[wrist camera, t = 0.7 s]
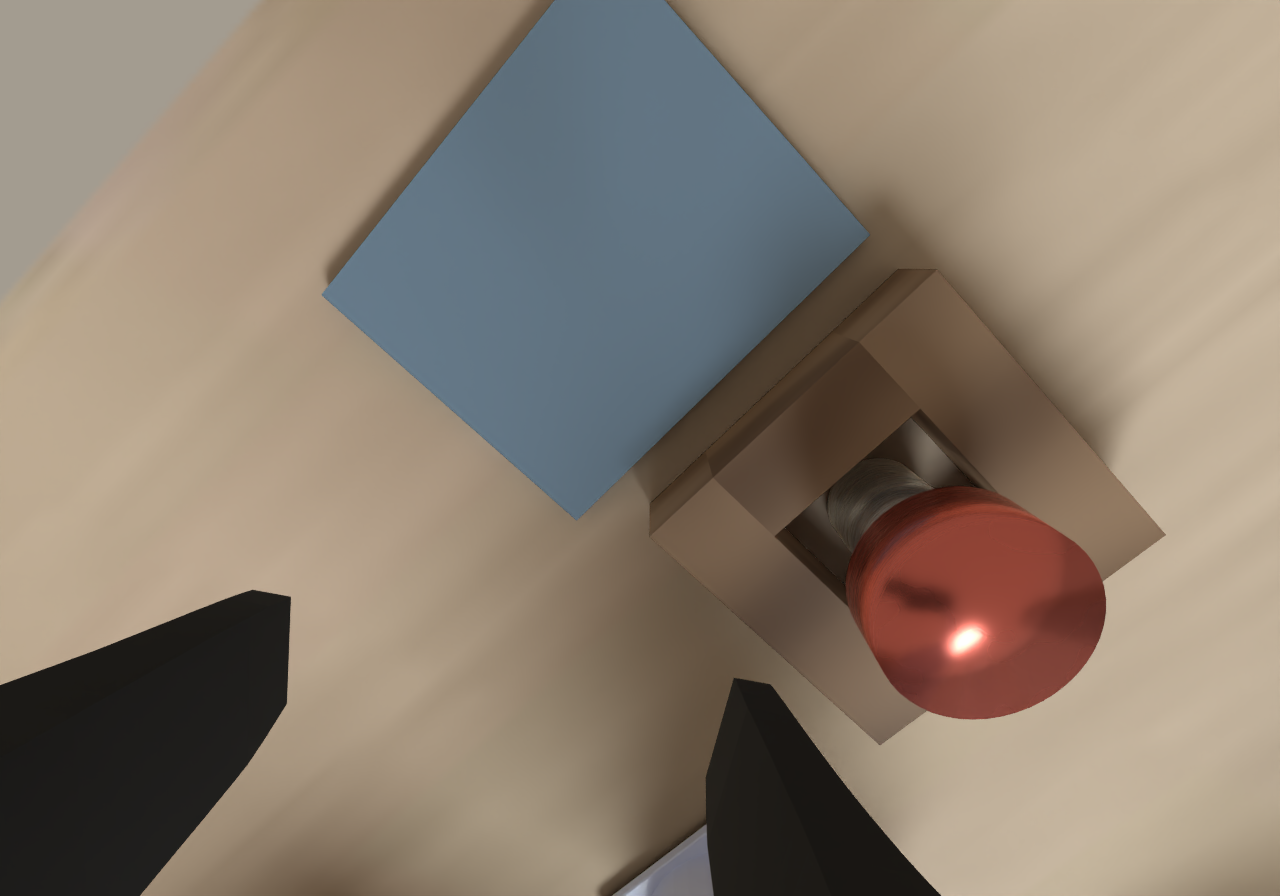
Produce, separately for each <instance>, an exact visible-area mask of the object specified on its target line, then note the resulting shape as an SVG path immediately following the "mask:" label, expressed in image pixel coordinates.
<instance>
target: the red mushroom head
mask: <svg viewBox="0 0 1280 896" xmlns="http://www.w3.org/2000/svg"><path fill="white" fill-rule="evenodd" d="M827 511H828V516H829V519H830V522H831V524H832V526H833V527H834V529H835V530H836V532H837V533H838V534H839V536H840V537H841V539H842V540H843V542H844V543H845V545H846V546H847V547H848V549H849V550H850V552H851V553H852V556H851V559H850V562H849V565H848V570H847V576H846V597H847V603H848V606H849V610H850V613H851V615H852V617H853V619H854V621H855V623H856V625H857V627H858V629H859V630H860V632H861V634H862V636H863V637H864V639H865V641H866V643H867V644H868V646H869V648H870V650H871V651H872V653H873V655H874V657H875V659H876V660H877V662H878V664H879V666H880V667H881V669H882V671H883V673H884V674H885V676H886V677H887V679H888V680H889V682H890V683H891V684H892V685H893V687H894V688H895V689H896V690H897V691H898V692H899V693H900V694H901V695H903V696H904V697H905V698H906V699H908V700H909V701H910V702H912V703H914V704H915V705H917V706H919V707H921V708H923V709H925V710H927V711H930V712H932V713H935V714H939V715H942V716H946V717H952V718H958V719H988V718H995V717H1001V716H1005V715H1009V714H1013V713H1016V712H1019V711H1021V710H1024V709H1027V708H1030V707H1032V706H1034V705H1036V704H1038V703H1040V702H1042V701H1044V700H1045V699H1047V698H1048V697H1050V696H1051V695H1053V694H1055V693H1056V692H1057V691H1059V690H1060V689H1061V688H1062V687H1064V686H1065V685H1066V684H1067V683H1068V682H1069V681H1071V680H1072V679H1073V678H1074V677H1075V676H1076V675H1077V674H1078V672H1079V671H1080V670H1081V669H1082V667H1083V666H1084V665H1085V664H1086V663H1087V661H1088V659H1089V658H1090V656H1091V655H1092V653H1093V651H1094V650H1095V647H1096V645H1097V643H1098V641H1099V639H1100V636H1101V633H1102V629H1103V626H1104V621H1105V614H1106V597H1105V591H1104V585H1103V582H1102V579H1101V576H1100V574H1099V572H1098V570H1097V568H1096V566H1095V564H1094V562H1093V561H1092V560H1091V559H1090V557H1089V556H1088V555H1087V553H1086V552H1085V551H1084V550H1083V549H1082V548H1081V547H1080V546H1079V545H1077V544H1076V543H1075V542H1074V541H1072V540H1071V539H1069V538H1068V537H1066V536H1065V535H1063V534H1062V533H1060V532H1059V531H1057V530H1056V529H1054V528H1053V527H1051V526H1050V525H1048V524H1047V523H1045V522H1044V521H1042V520H1041V519H1039V518H1038V517H1036V516H1034V515H1033V514H1031V513H1030V512H1028V511H1027V510H1025V509H1024V508H1022V507H1021V506H1019V505H1018V504H1016V503H1015V502H1013V501H1012V500H1010V499H1008V498H1006V497H1004V496H1002V495H1000V494H998V493H995V492H992V491H989V490H986V489H981V488H976V487H966V486H952V487H942V488H937V489H934V488H932V487H931V486H930V485H929V484H927V483H926V482H925V481H924V480H922V479H921V478H920V477H919V476H917V475H916V474H915V473H914V472H912V471H911V470H910V469H908V468H907V467H906V466H904V465H903V464H901V463H899V462H897V461H894V460H890V459H885V458H873V459H868V460H864V461H861V462H859V463H858V464H856V465H855V466H854V467H853V468H852V469H851V470H850V471H848V472H847V473H846V474H845V475H844V476H843V477H842V478H840V479H839V480H838V481H837V482H836V483H835V484H834V485H832V487H831V490H830V492H829V496H828V501H827Z"/></svg>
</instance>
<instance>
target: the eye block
mask: <svg viewBox="0 0 1280 896" xmlns="http://www.w3.org/2000/svg"><path fill="white" fill-rule="evenodd" d="M910 417H912V419H913V420H914V421H915V422H916V423H917V424H918V425H919V426H920V427H921V428H922V429H923V430H924V431H925V433H926V434H927V435H928V436H929V437H930V438H931V439H932V440H933V441H934V442H935V443H936V444H937V445H938V447H939V448H940V449H941V450H942V451H943V452H944V453H945V454H946V455H947V456H948V457H949V458H950V459H951V461H952V462H953V463H954V464H955V465H956V466H957V467H958V468H959V469H960V470H961V471H962V472H963V473H964V474H965V476H966V477H967V478H968V479H969V480H970V481H971V482H972V483H973V484H974V485H975V486H976V487H977V488H981V489H986V490H989V491H992V492H995V493H998V494H1000V495H1002V496H1004V497H1006V498H1008V499H1010V500H1012V501H1013V502H1015V503H1016V504H1018V505H1019V506H1021V507H1022V508H1024V509H1025V510H1027V511H1028V512H1030V513H1031V514H1033V515H1034V516H1036V517H1038V518H1039V519H1041V520H1042V521H1044V522H1045V523H1047V524H1048V525H1050V526H1051V527H1053V528H1054V529H1056V530H1057V531H1059V532H1060V533H1062V534H1063V535H1065V536H1066V537H1068V538H1069V539H1071V540H1072V541H1074V542H1075V543H1076V544H1077V545H1079V546H1080V547H1081V548H1082V549H1083V550H1084V551H1085V552H1086V553H1087V555H1088V556H1089V557H1090V559H1091V560H1092V561H1093V562H1094V564H1095V566H1096V568H1097V570H1098V572H1099V574H1100V576H1101V579H1102V581H1104V580H1105V579H1107V578H1108V577H1109V576H1111V575H1112V574H1113V573H1115V572H1116V571H1117V570H1119V569H1120V568H1121V567H1123V566H1124V565H1126V564H1127V563H1128V562H1130V561H1131V560H1132V559H1134V558H1135V557H1136V556H1138V555H1139V554H1140V553H1142V552H1143V551H1145V550H1146V549H1147V548H1149V547H1150V546H1151V545H1153V544H1154V543H1155V542H1157V541H1158V540H1160V539H1161V538H1162V537H1164V536H1165V535H1166V534H1165V533H1164V532H1163V531H1162V530H1161V529H1160V528H1159V526H1158V525H1157V524H1156V523H1155V522H1154V521H1153V519H1152V518H1151V517H1150V516H1149V515H1148V514H1147V512H1146V511H1145V510H1144V509H1143V508H1142V507H1141V505H1140V504H1139V503H1138V502H1137V501H1136V500H1135V498H1134V497H1133V496H1132V495H1131V494H1130V493H1129V492H1128V490H1127V489H1126V488H1125V487H1124V486H1123V485H1122V483H1121V482H1120V481H1119V480H1118V479H1117V478H1116V476H1115V475H1114V474H1113V473H1112V472H1111V471H1110V469H1109V468H1108V467H1107V466H1106V465H1105V464H1104V462H1103V461H1102V460H1101V459H1100V458H1099V457H1098V456H1097V454H1096V453H1095V452H1094V451H1093V450H1092V449H1091V447H1090V446H1089V445H1088V444H1087V443H1086V442H1085V440H1084V439H1083V438H1082V437H1081V436H1080V435H1079V433H1078V432H1077V431H1076V430H1075V429H1074V428H1073V427H1072V425H1071V424H1070V423H1069V422H1068V421H1067V420H1066V418H1065V417H1064V416H1063V415H1062V414H1061V413H1060V411H1059V410H1058V409H1057V408H1056V407H1055V406H1054V404H1053V403H1052V402H1051V401H1050V400H1049V399H1048V397H1047V396H1046V395H1045V394H1044V393H1043V392H1042V391H1041V389H1040V388H1039V387H1038V386H1037V385H1036V384H1035V382H1034V381H1033V380H1032V379H1031V378H1030V377H1029V375H1028V374H1027V373H1026V372H1025V371H1024V370H1023V368H1022V367H1021V366H1020V365H1019V364H1018V363H1017V361H1016V360H1015V359H1014V358H1013V357H1012V356H1011V355H1010V353H1009V352H1008V351H1007V350H1006V349H1005V348H1004V346H1003V345H1002V344H1001V343H1000V342H999V341H998V339H997V338H996V337H995V336H994V335H993V334H992V332H991V331H990V330H989V329H988V328H987V327H986V326H985V324H984V323H983V322H982V321H981V320H980V319H979V317H978V316H977V315H976V314H975V313H974V312H973V310H972V309H971V308H970V307H969V306H968V305H967V303H966V302H965V301H964V300H963V299H962V298H961V296H960V295H959V294H958V293H957V292H956V291H955V290H954V288H953V287H952V286H951V285H950V284H949V283H948V281H947V280H946V279H945V278H944V277H943V276H942V274H941V273H940V272H939V271H938V270H937V269H898V270H897V271H896V272H895V273H894V274H893V275H892V276H891V277H889V278H888V279H887V280H886V281H885V282H884V283H883V284H882V285H881V286H880V287H879V288H878V289H877V290H876V291H875V292H874V293H873V294H871V295H870V296H869V297H868V298H867V299H866V300H865V301H864V302H863V303H862V304H861V305H860V306H859V307H858V308H857V309H856V310H855V311H853V312H852V313H851V314H850V315H849V316H848V317H847V318H846V319H845V320H844V321H843V322H842V323H841V324H840V325H839V326H838V327H837V328H835V329H834V330H833V331H832V332H831V333H830V334H829V335H828V336H827V337H826V338H825V339H824V340H823V341H822V342H821V343H820V344H819V345H818V346H816V347H815V348H814V349H813V350H812V351H811V352H810V353H809V354H808V355H807V356H806V357H805V358H804V359H803V360H802V361H801V362H800V363H798V364H797V365H796V366H795V367H794V368H793V369H792V370H791V371H790V372H789V373H788V374H787V375H786V376H785V377H784V378H783V379H782V380H780V381H779V382H778V383H777V384H776V385H775V386H774V387H773V388H772V389H771V390H770V391H769V392H768V393H767V394H766V395H765V396H764V397H762V398H761V399H760V400H759V401H758V402H757V403H756V404H755V405H754V406H753V407H752V408H751V409H750V410H749V411H748V412H747V413H746V414H745V415H743V416H742V417H741V418H740V419H739V420H738V421H737V422H736V423H735V424H734V425H733V426H732V427H731V428H730V429H729V430H728V431H727V432H725V433H724V434H723V435H722V436H721V437H720V438H719V439H718V440H717V441H716V442H715V443H714V444H713V445H712V446H711V447H710V448H709V449H707V450H706V451H705V452H704V453H703V454H702V455H701V456H700V457H699V458H698V459H697V460H696V461H695V462H694V463H693V464H692V465H691V466H689V467H688V468H687V469H686V470H685V471H684V472H683V473H682V474H681V475H680V476H679V477H678V478H677V479H676V480H675V481H674V482H673V483H672V484H670V485H669V486H668V487H667V488H666V489H665V490H664V491H663V492H662V493H661V494H660V495H659V496H658V497H657V498H656V499H655V500H654V501H652V502H651V503H650V532H649V537H650V538H651V539H652V540H654V541H655V542H656V543H657V544H658V545H659V546H660V547H661V548H662V549H663V550H665V551H666V552H667V553H668V554H669V555H670V556H671V557H672V558H673V559H675V560H676V561H677V562H678V563H679V564H680V565H681V566H682V567H683V568H684V569H686V570H687V571H688V572H689V573H690V574H691V575H692V576H693V577H694V578H696V579H697V580H698V581H699V582H700V583H701V584H702V585H703V586H704V587H705V588H707V589H708V590H709V591H710V592H711V593H712V594H713V595H714V596H715V597H717V598H718V599H719V600H720V601H721V602H722V603H723V604H724V605H725V606H726V607H728V608H729V609H730V610H731V611H732V612H733V613H734V614H735V615H736V616H738V617H739V618H740V619H741V620H742V621H743V622H744V623H745V624H746V625H747V626H749V627H750V628H751V629H752V630H753V631H754V632H755V633H756V634H757V635H759V636H760V637H761V638H762V639H763V640H764V641H765V642H766V643H767V644H768V645H770V646H771V647H772V648H773V649H774V650H775V651H776V652H777V653H778V654H780V655H781V656H782V657H783V658H784V659H785V660H786V661H787V662H788V663H789V664H791V665H792V666H793V667H794V668H795V669H796V670H797V671H798V672H799V673H801V674H802V675H803V676H804V677H805V678H806V679H807V680H808V681H809V682H811V683H812V684H813V685H814V686H815V687H816V688H817V689H818V690H819V691H820V692H822V693H823V694H824V695H825V696H826V697H827V698H828V699H829V700H830V701H832V702H833V703H834V704H835V705H836V706H837V707H838V708H839V709H840V710H841V711H843V712H844V713H845V714H846V715H847V716H848V717H849V718H850V719H851V720H853V721H854V722H855V723H856V724H857V725H858V726H859V727H860V728H861V729H862V730H864V731H865V732H866V733H867V734H868V735H869V736H870V737H871V738H872V739H874V740H875V741H876V742H877V743H878V744H879V745H881V744H882V743H884V742H885V741H886V740H888V739H889V738H890V737H892V736H893V735H895V734H896V733H897V732H899V731H900V730H901V729H903V728H904V727H905V726H907V725H908V724H909V723H911V722H912V721H914V720H915V719H916V718H918V717H919V716H920V715H922V714H923V713H924V712H926V711H927V710H925V709H923V708H921V707H919V706H917V705H915V704H914V703H912V702H910V701H909V700H908V699H906V698H905V697H904V696H903V695H901V694H900V693H899V692H898V691H897V690H896V689H895V688H894V687H893V685H892V684H891V683H890V682H889V680H888V679H887V677H886V676H885V674H884V673H883V671H882V669H881V667H880V666H879V664H878V662H877V660H876V659H875V657H874V655H873V653H872V651H871V650H870V648H869V646H868V644H867V643H866V641H865V639H864V637H863V636H862V634H861V632H860V630H859V629H858V627H857V625H856V623H855V621H854V619H853V617H852V615H851V613H850V610H849V606H848V603H847V597H846V586H845V585H844V584H843V583H841V582H840V581H839V580H838V579H837V578H836V577H835V576H834V575H833V574H832V573H831V572H830V571H829V570H828V569H827V568H826V567H825V566H824V565H823V564H822V563H821V562H820V561H819V560H818V559H817V558H816V557H814V556H813V555H812V554H811V553H810V552H809V551H808V550H807V549H806V548H805V547H804V546H803V545H802V544H801V543H800V542H799V541H798V540H797V539H796V538H795V537H794V536H793V535H792V534H791V533H790V532H789V531H788V530H786V529H785V528H784V527H785V526H787V525H788V524H789V523H790V522H791V521H792V520H793V519H795V518H796V517H797V516H798V515H799V514H800V513H801V512H803V511H804V510H805V509H806V508H807V507H808V506H809V505H811V504H812V503H813V502H814V501H815V500H816V499H817V498H819V497H820V496H821V495H822V494H823V493H824V492H826V491H827V490H828V489H829V488H830V487H831V486H832V485H834V484H835V483H836V482H837V481H838V480H839V479H840V478H842V477H843V476H844V475H845V474H846V473H847V472H848V471H850V470H851V469H852V468H853V467H854V466H855V465H856V464H858V463H859V462H860V461H861V460H862V459H863V458H864V457H866V456H867V455H868V454H869V453H870V452H871V451H872V450H874V449H875V448H876V447H877V446H878V445H879V444H880V443H882V442H883V441H884V440H885V439H886V438H887V437H888V436H890V435H891V434H892V433H893V432H894V431H895V430H896V429H898V428H899V427H900V426H901V425H902V424H903V423H905V422H906V421H907V420H908V419H909V418H910Z"/></svg>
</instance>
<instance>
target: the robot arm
mask: <svg viewBox="0 0 1280 896" xmlns="http://www.w3.org/2000/svg"><path fill="white" fill-rule="evenodd" d="M290 606H291V597H289V596H283V595H278V594H272V593H267V592H261V591H256V590H251V591H248V592H244V593H241V594H238V595H235V596H233V597H230V598H227V599H224V600H222V601H219V602H216V603H214V604H211V605H209V606H206V607H204V608H201V609H199V610H196V611H194V612H191V613H188V614H186V615H183V616H181V617H179V618H176V619H174V620H171V621H169V622H166V623H164V624H161V625H159V626H156V627H153V628H151V629H148V630H146V631H143V632H141V633H138V634H136V635H133V636H131V637H128V638H126V639H123V640H121V641H118V642H116V643H113V644H111V645H108V646H106V647H103V648H100V649H98V650H95V651H93V652H90V653H87V654H85V655H82V656H79V657H76V658H74V659H71V660H68V661H65V662H63V663H60V664H57V665H54V666H52V667H49V668H46V669H43V670H41V671H38V672H35V673H32V674H30V675H27V676H24V677H21V678H19V679H16V680H13V681H11V682H8V683H5V684H2V685H0V896H140V895H141V894H142V892H143V891H144V890H145V889H146V888H147V886H148V885H149V884H150V883H151V882H152V880H153V879H154V878H155V877H156V875H157V874H158V873H159V872H160V871H161V869H162V868H163V867H164V866H165V865H166V863H167V862H168V861H169V860H170V859H171V857H172V856H173V855H174V854H175V853H176V851H177V850H178V849H179V848H180V847H181V845H182V844H183V843H184V842H185V841H186V839H187V838H188V837H189V836H190V835H191V833H192V832H193V831H194V830H195V828H196V827H197V826H198V825H199V824H200V822H201V821H202V820H203V819H204V818H205V816H206V815H207V814H208V813H209V812H210V810H211V809H212V808H213V807H214V805H215V804H216V803H217V802H218V801H219V799H220V798H221V797H222V796H223V794H224V793H225V792H226V791H227V790H228V788H229V787H230V786H231V785H232V783H233V782H234V781H235V780H236V778H237V777H238V776H239V775H240V773H241V772H242V771H243V770H244V768H245V767H246V766H247V765H248V763H249V762H250V760H251V759H252V757H253V756H254V754H255V753H256V751H257V750H258V748H259V747H260V745H261V744H262V742H263V741H264V739H265V738H266V736H267V735H268V733H269V731H270V730H271V728H272V727H273V725H274V723H275V722H276V720H277V719H278V717H279V715H280V714H281V712H282V711H283V709H284V707H285V706H286V704H287V685H288V659H289V632H290ZM706 823H707V824H706V825H704V826H703V827H702V828H701V829H699V830H698V831H697V832H695V833H694V834H693V835H691V836H690V837H689V838H687V839H686V840H685V841H683V842H682V843H681V844H679V845H678V846H677V847H676V848H674V849H673V850H672V851H670V852H669V853H668V854H666V855H665V856H664V857H662V858H661V859H660V860H658V861H657V862H656V863H654V864H653V865H652V866H651V867H649V868H648V869H647V870H645V871H644V872H643V873H641V874H640V875H639V876H637V877H636V878H635V879H633V880H632V881H631V882H629V883H628V884H627V885H626V886H624V887H623V888H622V889H620V890H619V891H618V892H616V893H615V894H614V895H612V896H941V895H940V894H939V893H938V892H937V891H936V890H935V889H934V888H933V887H932V886H931V885H930V884H929V883H928V882H927V880H926V879H925V878H924V877H923V876H922V875H921V874H920V873H919V872H918V871H917V870H916V868H915V867H914V866H913V865H912V864H911V863H910V862H909V861H908V860H907V859H906V857H905V856H904V855H903V854H902V853H901V852H900V851H899V849H898V848H897V847H896V846H895V845H894V843H893V842H892V841H891V840H890V839H889V838H888V836H887V835H886V834H885V833H884V832H883V831H882V829H881V828H880V827H879V826H878V825H877V824H876V822H875V821H874V820H873V819H872V818H871V817H870V815H869V814H868V813H867V812H866V810H865V809H864V808H863V807H862V805H861V804H860V803H859V802H858V800H857V799H856V798H855V797H854V796H853V794H852V793H851V792H850V790H849V789H848V788H847V787H846V785H845V784H844V783H843V782H842V780H841V779H840V778H839V776H838V775H837V774H836V772H835V771H834V770H833V769H832V767H831V766H830V765H829V763H828V762H827V761H826V759H825V758H824V757H823V755H822V754H821V753H820V751H819V750H818V749H817V747H816V746H815V744H814V743H813V742H812V740H811V739H810V738H809V736H808V735H807V734H806V732H805V731H804V729H803V728H802V727H801V725H800V724H799V723H798V721H797V720H796V718H795V717H794V716H793V714H792V713H791V711H790V710H789V709H788V707H787V706H786V704H785V703H784V702H783V700H782V699H781V698H780V696H779V695H778V694H777V692H776V691H775V690H774V688H773V687H772V686H771V685H770V684H765V683H759V682H754V681H748V680H743V679H737V678H734V680H733V683H732V687H731V690H730V694H729V697H728V701H727V705H726V708H725V712H724V715H723V719H722V722H721V726H720V729H719V733H718V736H717V740H716V743H715V747H714V750H713V754H712V758H711V761H710V765H709V768H708V772H707V775H706Z"/></svg>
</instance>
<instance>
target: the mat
mask: <svg viewBox="0 0 1280 896" xmlns="http://www.w3.org/2000/svg"><path fill="white" fill-rule="evenodd" d="M869 236H870V234H869V233H868V232H867V231H866V229H865V228H864V227H863V226H862V225H861V224H860V223H859V221H858V220H857V219H856V218H855V217H854V216H853V215H852V213H851V212H850V211H849V210H848V209H847V208H846V207H845V205H844V204H843V203H842V202H841V201H840V200H839V199H838V197H837V196H836V195H835V194H834V193H833V192H832V191H831V189H830V188H829V187H828V186H827V185H826V184H825V183H824V182H823V180H822V179H821V178H820V177H819V176H818V175H817V174H816V172H815V171H814V170H813V169H812V168H811V167H810V166H809V164H808V163H807V162H806V161H805V160H804V159H803V158H802V156H801V155H800V154H799V153H798V152H797V151H796V150H795V148H794V147H793V146H792V145H791V144H790V143H789V142H788V140H787V139H786V138H785V137H784V136H783V135H782V134H781V132H780V131H779V130H778V129H777V128H776V127H775V126H774V124H773V123H772V122H771V121H770V120H769V119H768V118H767V116H766V115H765V114H764V113H763V112H762V111H761V110H760V109H759V107H758V106H757V105H756V104H755V103H754V102H753V101H752V99H751V98H750V97H749V96H748V95H747V94H746V93H745V91H744V90H743V89H742V88H741V87H740V86H739V85H738V83H737V82H736V81H735V80H734V79H733V78H732V77H731V75H730V74H729V73H728V72H727V71H726V70H725V69H724V67H723V66H722V65H721V64H720V63H719V62H718V61H717V59H716V58H715V57H714V56H713V55H712V54H711V53H710V51H709V50H708V49H707V48H706V47H705V46H704V45H703V43H702V42H701V41H700V40H699V39H698V38H697V37H696V36H695V34H694V33H693V32H692V31H691V30H690V29H689V28H688V26H687V25H686V24H685V23H684V22H683V21H682V20H681V18H680V17H679V16H678V15H677V14H676V13H675V12H674V10H673V9H672V8H671V7H670V6H669V5H668V4H667V2H666V1H665V0H554V2H553V3H552V4H551V6H550V7H549V8H548V9H547V11H546V12H545V13H544V14H543V16H542V17H541V18H540V19H539V21H538V22H537V23H536V24H535V26H534V27H533V28H532V30H531V31H530V32H529V33H528V35H527V36H526V37H525V38H524V40H523V41H522V42H521V43H520V45H519V46H518V47H517V48H516V50H515V51H514V52H513V54H512V55H511V56H510V57H509V59H508V60H507V61H506V62H505V64H504V65H503V66H502V67H501V69H500V70H499V71H498V72H497V74H496V75H495V76H494V78H493V79H492V80H491V81H490V83H489V84H488V85H487V86H486V88H485V89H484V90H483V91H482V93H481V94H480V95H479V96H478V98H477V99H476V100H475V102H474V103H473V104H472V105H471V107H470V108H469V109H468V110H467V112H466V113H465V114H464V115H463V117H462V118H461V119H460V120H459V122H458V123H457V124H456V126H455V127H454V128H453V129H452V131H451V132H450V133H449V134H448V136H447V137H446V138H445V139H444V141H443V142H442V143H441V144H440V146H439V147H438V148H437V150H436V151H435V152H434V153H433V155H432V156H431V157H430V158H429V160H428V161H427V162H426V163H425V165H424V166H423V167H422V168H421V170H420V171H419V172H418V174H417V175H416V176H415V177H414V179H413V180H412V181H411V182H410V184H409V185H408V186H407V187H406V189H405V190H404V191H403V192H402V194H401V195H400V196H399V198H398V199H397V200H396V201H395V203H394V204H393V205H392V206H391V208H390V209H389V210H388V211H387V213H386V214H385V215H384V216H383V218H382V219H381V220H380V222H379V223H378V224H377V225H376V227H375V228H374V229H373V230H372V232H371V233H370V234H369V235H368V237H367V238H366V239H365V240H364V242H363V243H362V244H361V246H360V247H359V248H358V249H357V251H356V252H355V253H354V254H353V256H352V257H351V258H350V259H349V261H348V262H347V263H346V264H345V266H344V267H343V268H342V270H341V271H340V272H339V273H338V275H337V276H336V277H335V278H334V280H333V281H332V282H331V283H330V285H329V286H328V287H327V288H326V290H325V291H324V292H323V294H322V296H323V297H324V298H325V299H327V300H328V301H329V302H330V303H331V304H332V305H333V306H335V307H336V308H337V309H338V310H339V311H340V312H341V313H342V314H344V315H345V316H346V317H347V318H348V319H349V320H350V321H351V322H353V323H354V324H355V325H356V326H357V327H358V328H359V329H361V330H362V331H363V332H364V333H365V334H366V335H367V336H368V337H370V338H371V339H372V340H373V341H374V342H375V343H376V344H377V345H379V346H380V347H381V348H382V349H383V350H384V351H385V352H387V353H388V354H389V355H390V356H391V357H392V358H393V359H394V360H396V361H397V362H398V363H399V364H400V365H401V366H402V367H404V368H405V369H406V370H407V371H408V372H409V373H410V374H411V375H413V376H414V377H415V378H416V379H417V380H418V381H419V382H420V383H422V384H423V385H424V386H425V387H426V388H427V389H428V390H430V391H431V392H432V393H433V394H434V395H435V396H436V397H437V398H439V399H440V400H441V401H442V402H443V403H444V404H445V405H446V406H448V407H449V408H450V409H451V410H452V411H453V412H454V413H456V414H457V415H458V416H459V417H460V418H461V419H462V420H463V421H465V422H466V423H467V424H468V425H469V426H470V427H471V428H473V429H474V430H475V431H476V432H477V433H478V434H479V435H480V436H482V437H483V438H484V439H485V440H486V441H487V442H488V443H489V444H491V445H492V446H493V447H494V448H495V449H496V450H497V451H499V452H500V453H501V454H502V455H503V456H504V457H505V458H506V459H508V460H509V461H510V462H511V463H512V464H513V465H514V466H515V467H517V468H518V469H519V470H520V471H521V472H522V473H523V474H525V475H526V476H527V477H528V478H529V479H530V480H531V481H532V482H534V483H535V484H536V485H537V486H538V487H539V488H540V489H542V490H543V491H544V492H545V493H546V494H547V495H548V496H549V497H551V498H552V499H553V500H554V501H555V502H556V503H557V504H558V505H560V506H561V507H562V508H563V509H564V510H565V511H566V512H568V513H569V514H570V515H571V516H572V517H573V518H574V519H575V520H578V519H579V518H580V517H581V516H582V515H583V514H584V513H585V512H586V511H587V510H588V509H589V508H590V507H591V506H592V505H593V504H594V503H595V502H596V501H597V500H598V499H599V498H600V497H601V496H602V495H603V494H604V493H605V492H606V491H608V490H609V489H610V488H611V487H612V486H613V485H614V484H615V483H616V482H617V481H618V480H619V479H620V478H621V477H622V476H623V475H624V474H625V473H626V472H627V471H628V470H629V469H630V468H631V467H632V466H633V465H634V464H635V463H636V462H637V461H638V460H639V459H640V458H641V457H642V456H643V455H645V454H646V453H647V452H648V451H649V450H650V449H651V448H652V447H653V446H654V445H655V444H656V443H657V442H658V441H659V440H660V439H661V438H662V437H663V436H664V435H665V434H666V433H667V432H668V431H669V430H670V429H671V428H672V427H673V426H674V425H675V424H676V423H677V422H678V421H679V420H680V419H682V418H683V417H684V416H685V415H686V414H687V413H688V412H689V411H690V410H691V409H692V408H693V407H694V406H695V405H696V404H697V403H698V402H699V401H700V400H701V399H702V398H703V397H704V396H705V395H706V394H707V393H708V392H709V391H710V390H711V389H712V388H713V387H714V386H715V385H716V384H717V383H719V382H720V381H721V380H722V379H723V378H724V377H725V376H726V375H727V374H728V373H729V372H730V371H731V370H732V369H733V368H734V367H735V366H736V365H737V364H738V363H739V362H740V361H741V360H742V359H743V358H744V357H745V356H746V355H747V354H748V353H749V352H750V351H751V350H752V349H753V348H754V347H755V346H757V345H758V344H759V343H760V342H761V341H762V340H763V339H764V338H765V337H766V336H767V335H768V334H769V333H770V332H771V331H772V330H773V329H774V328H775V327H776V326H777V325H778V324H779V323H780V322H781V321H782V320H783V319H784V318H785V317H786V316H787V315H788V314H789V313H790V312H791V311H792V310H794V309H795V308H796V307H797V306H798V305H799V304H800V303H801V302H802V301H803V300H804V299H805V298H806V297H807V296H808V295H809V294H810V293H811V292H812V291H813V290H814V289H815V288H816V287H817V286H818V285H819V284H820V283H821V282H822V281H823V280H824V279H825V278H826V277H827V276H828V275H829V274H831V273H832V272H833V271H834V270H835V269H836V268H837V267H838V266H839V265H840V264H841V263H842V262H843V261H844V260H845V259H846V258H847V257H848V256H849V255H850V254H851V253H852V252H853V251H854V250H855V249H856V248H857V247H858V246H859V245H860V244H861V243H862V242H863V241H864V240H865V239H866V238H868V237H869Z"/></svg>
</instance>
